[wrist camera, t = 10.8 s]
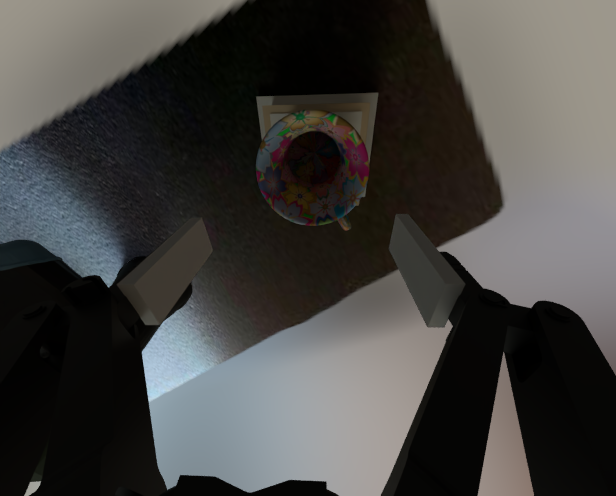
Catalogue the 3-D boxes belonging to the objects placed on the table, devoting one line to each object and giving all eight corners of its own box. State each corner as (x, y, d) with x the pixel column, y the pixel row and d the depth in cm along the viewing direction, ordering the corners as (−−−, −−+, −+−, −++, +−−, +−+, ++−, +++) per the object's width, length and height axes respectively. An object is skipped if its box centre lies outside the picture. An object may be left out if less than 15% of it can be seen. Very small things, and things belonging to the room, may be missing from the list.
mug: (261, 138, 26) (231, 156, 17) (329, 86, 23) (334, 76, 14) (313, 216, 31) (311, 260, 23) (374, 183, 28) (398, 219, 20)
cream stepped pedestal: (270, 194, 38) (261, 212, 32) (258, 96, 30) (242, 95, 24) (363, 194, 37) (372, 212, 31) (376, 93, 29) (391, 90, 23)
